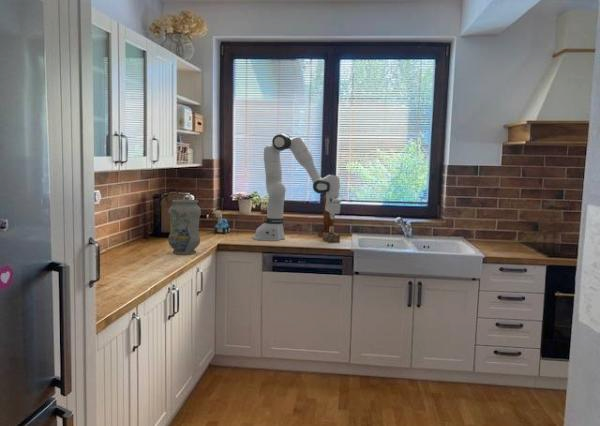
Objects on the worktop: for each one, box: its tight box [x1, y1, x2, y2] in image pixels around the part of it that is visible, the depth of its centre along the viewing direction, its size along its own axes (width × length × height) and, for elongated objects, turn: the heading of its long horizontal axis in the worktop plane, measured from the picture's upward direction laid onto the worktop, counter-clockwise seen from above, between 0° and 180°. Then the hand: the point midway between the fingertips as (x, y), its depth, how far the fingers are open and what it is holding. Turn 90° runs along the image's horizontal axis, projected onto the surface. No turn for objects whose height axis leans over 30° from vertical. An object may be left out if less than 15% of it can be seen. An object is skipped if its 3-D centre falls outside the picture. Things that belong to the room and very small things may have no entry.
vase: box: [167, 199, 202, 256], centre depth 279 cm, size 18×18×30 cm
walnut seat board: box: [321, 232, 341, 243], centre depth 337 cm, size 9×10×5 cm
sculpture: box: [317, 194, 336, 238], centre depth 355 cm, size 13×9×30 cm
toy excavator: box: [214, 209, 231, 234], centre depth 356 cm, size 9×17×17 cm, turn 167°
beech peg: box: [329, 225, 335, 234], centre depth 337 cm, size 3×3×10 cm
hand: (331, 219), depth 336 cm, fingers closed
